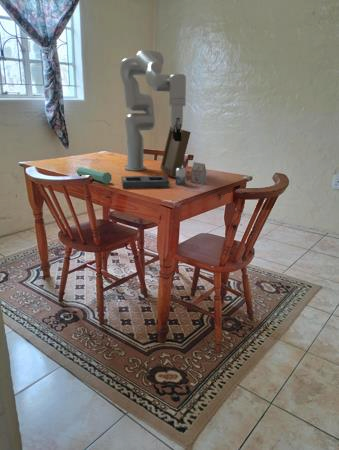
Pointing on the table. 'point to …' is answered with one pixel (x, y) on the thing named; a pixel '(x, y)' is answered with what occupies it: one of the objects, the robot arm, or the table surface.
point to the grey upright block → (198, 173)
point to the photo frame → (175, 152)
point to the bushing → (180, 176)
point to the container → (95, 174)
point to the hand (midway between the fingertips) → (176, 140)
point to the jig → (145, 182)
